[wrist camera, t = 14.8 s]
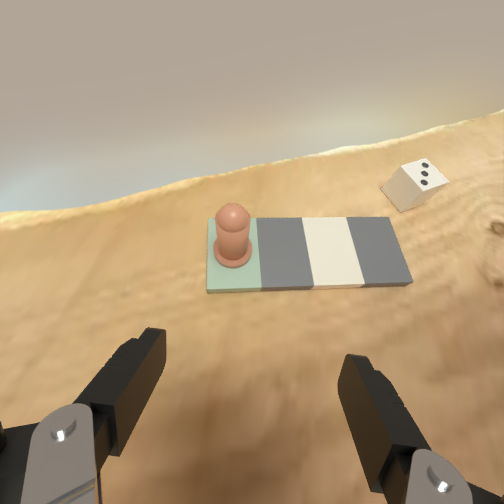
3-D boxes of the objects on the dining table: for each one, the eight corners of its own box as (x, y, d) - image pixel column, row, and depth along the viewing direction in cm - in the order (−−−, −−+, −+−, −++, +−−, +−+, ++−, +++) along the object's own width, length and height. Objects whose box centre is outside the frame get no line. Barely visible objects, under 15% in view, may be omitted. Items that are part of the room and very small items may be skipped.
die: (403, 181, 40) (425, 157, 35) (423, 203, 38) (449, 181, 33) (380, 189, 39) (400, 165, 34) (400, 212, 37) (423, 190, 32)
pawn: (250, 234, 31) (256, 190, 24) (252, 268, 29) (259, 230, 21) (214, 234, 31) (208, 189, 23) (213, 268, 29) (206, 230, 21)
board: (382, 222, 36) (388, 216, 34) (405, 285, 31) (413, 281, 30) (209, 224, 33) (208, 218, 32) (207, 293, 29) (206, 289, 27)
